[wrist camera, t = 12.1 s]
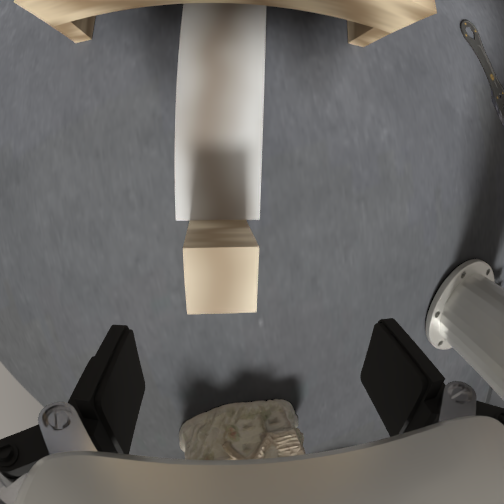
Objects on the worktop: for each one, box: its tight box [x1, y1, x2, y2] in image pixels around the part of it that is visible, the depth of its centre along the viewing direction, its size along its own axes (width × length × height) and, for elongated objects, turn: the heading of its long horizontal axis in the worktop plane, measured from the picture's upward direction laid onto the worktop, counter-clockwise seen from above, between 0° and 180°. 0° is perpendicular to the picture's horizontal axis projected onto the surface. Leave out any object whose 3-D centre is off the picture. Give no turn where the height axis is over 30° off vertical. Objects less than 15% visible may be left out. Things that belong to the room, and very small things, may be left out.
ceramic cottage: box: [179, 399, 305, 460], centre depth 27 cm, size 16×16×15 cm
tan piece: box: [175, 3, 266, 314], centre depth 17 cm, size 6×24×8 cm, turn 178°
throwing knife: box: [460, 20, 504, 127], centre depth 22 cm, size 4×20×1 cm, turn 36°
